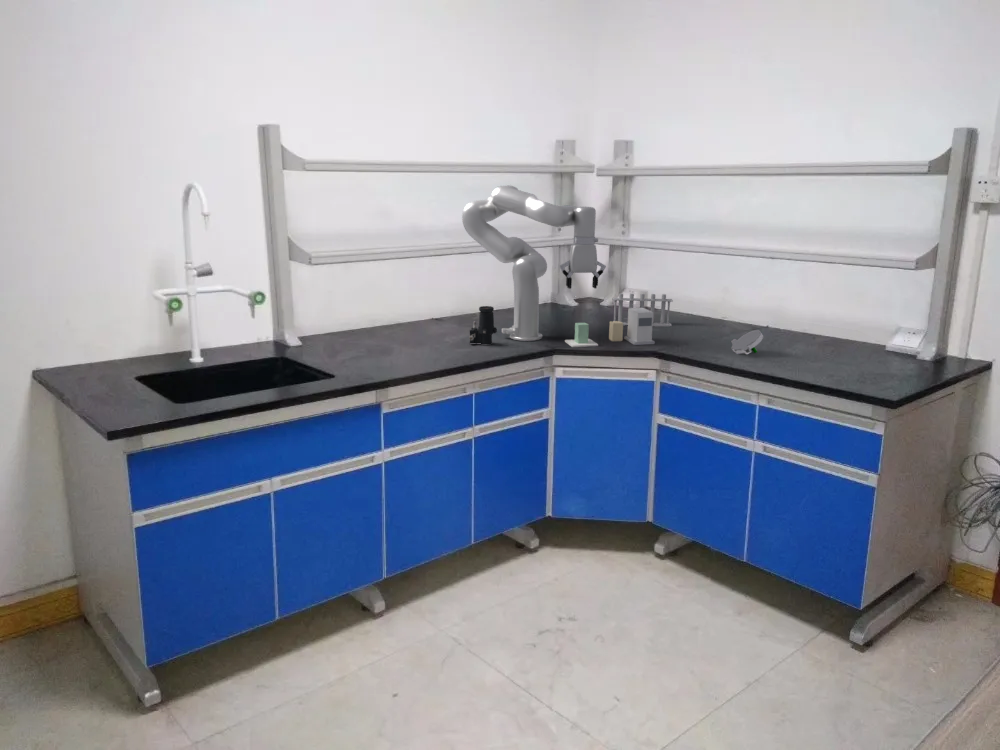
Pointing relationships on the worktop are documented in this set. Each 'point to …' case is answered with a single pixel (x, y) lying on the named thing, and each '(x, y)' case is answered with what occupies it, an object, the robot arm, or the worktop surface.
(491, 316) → the scope
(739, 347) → the grey tilted oval device
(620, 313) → the test tube rack
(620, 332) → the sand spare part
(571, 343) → the mat
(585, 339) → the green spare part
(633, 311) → the bench unit
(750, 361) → the worktop surface
